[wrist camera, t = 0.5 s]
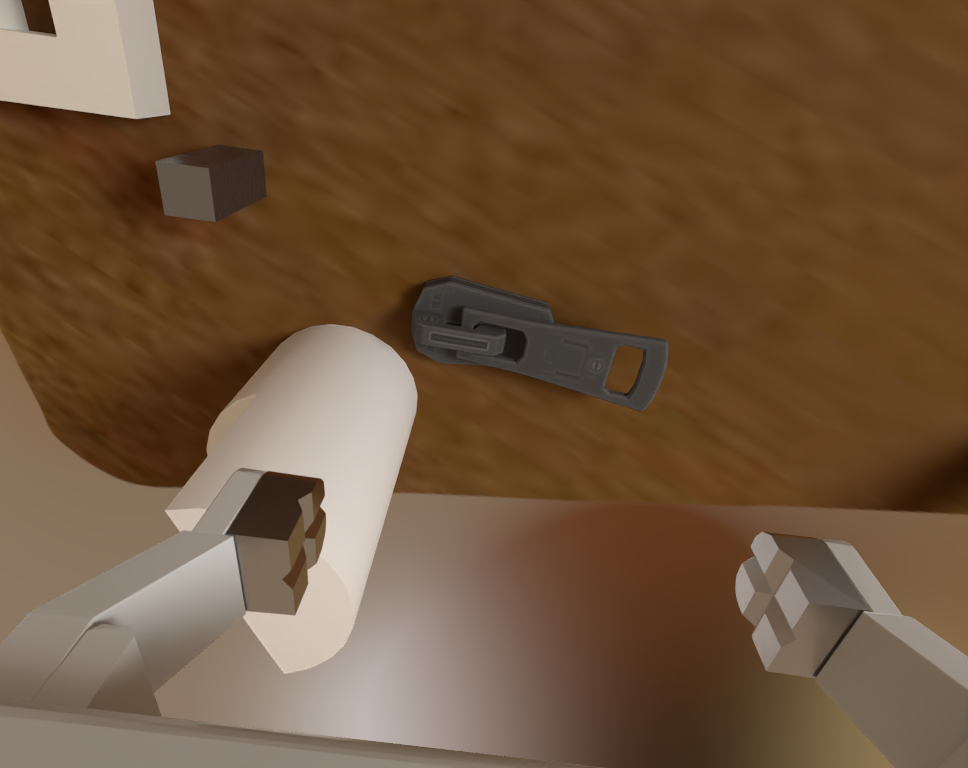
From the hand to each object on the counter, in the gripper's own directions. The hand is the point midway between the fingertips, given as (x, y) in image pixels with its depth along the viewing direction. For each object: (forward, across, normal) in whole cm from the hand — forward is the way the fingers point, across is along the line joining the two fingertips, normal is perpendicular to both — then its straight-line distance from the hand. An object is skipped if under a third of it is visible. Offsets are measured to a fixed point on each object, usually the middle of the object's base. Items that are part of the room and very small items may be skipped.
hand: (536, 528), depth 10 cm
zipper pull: (+45, -4, +16) cm, 48 cm away
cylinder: (+45, +17, +26) cm, 55 cm away
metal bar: (+45, +25, +3) cm, 51 cm away
